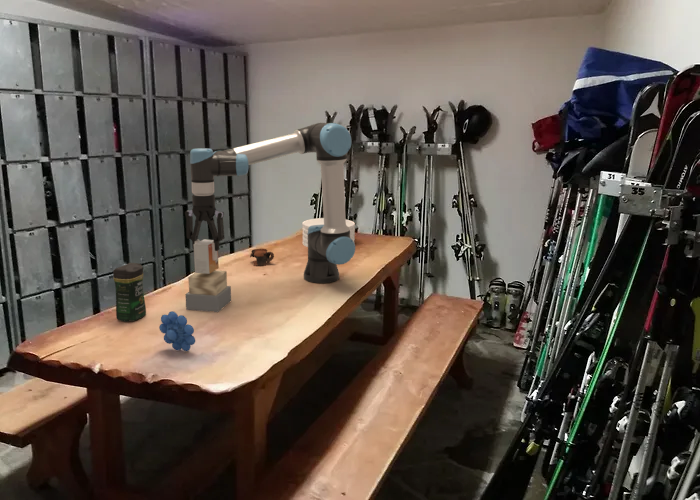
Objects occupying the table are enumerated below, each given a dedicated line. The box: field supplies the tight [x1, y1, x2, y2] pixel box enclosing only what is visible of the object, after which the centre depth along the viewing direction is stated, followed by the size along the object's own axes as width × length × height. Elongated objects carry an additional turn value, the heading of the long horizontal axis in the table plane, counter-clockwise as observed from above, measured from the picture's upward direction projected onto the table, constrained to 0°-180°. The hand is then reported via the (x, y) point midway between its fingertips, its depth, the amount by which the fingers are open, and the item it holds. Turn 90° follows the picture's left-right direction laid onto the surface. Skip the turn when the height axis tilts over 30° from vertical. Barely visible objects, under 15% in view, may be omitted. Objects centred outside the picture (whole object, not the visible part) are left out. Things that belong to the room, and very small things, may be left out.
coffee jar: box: [112, 262, 147, 323], centre depth 180 cm, size 10×8×19 cm
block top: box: [188, 269, 228, 295], centre depth 194 cm, size 10×10×6 cm
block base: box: [184, 285, 232, 313], centre depth 195 cm, size 12×12×6 cm
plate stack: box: [302, 217, 356, 248], centre depth 290 cm, size 28×28×12 cm
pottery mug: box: [249, 248, 275, 267], centre depth 250 cm, size 12×10×8 cm
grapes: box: [158, 311, 196, 352], centre depth 156 cm, size 12×7×12 cm, turn 72°
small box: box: [193, 239, 220, 274], centre depth 191 cm, size 8×6×10 cm
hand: (206, 258), depth 192 cm, fingers closed on small box, 6 cm apart
